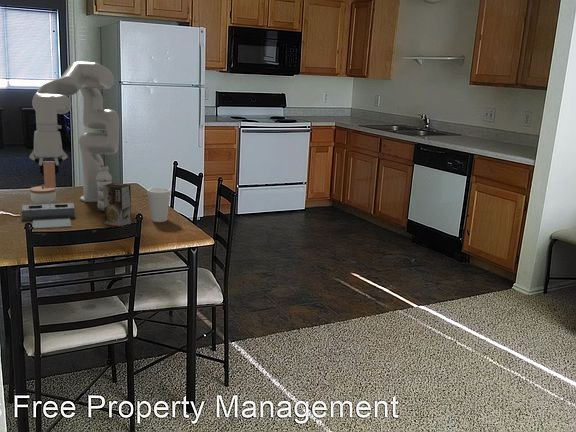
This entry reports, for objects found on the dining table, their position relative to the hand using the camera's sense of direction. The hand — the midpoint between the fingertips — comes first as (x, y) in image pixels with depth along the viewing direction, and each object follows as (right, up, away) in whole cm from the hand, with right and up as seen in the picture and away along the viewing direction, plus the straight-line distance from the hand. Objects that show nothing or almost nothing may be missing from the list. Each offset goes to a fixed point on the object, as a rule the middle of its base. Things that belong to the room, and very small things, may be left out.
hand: (49, 174), depth 224 cm
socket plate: (-7, -16, +15) cm, 23 cm away
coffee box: (+24, -20, +9) cm, 32 cm away
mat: (-1, -19, +4) cm, 20 cm away
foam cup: (+39, -18, +17) cm, 47 cm away
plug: (0, -5, +1) cm, 5 cm away
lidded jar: (-16, -12, +32) cm, 37 cm away
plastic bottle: (+13, -14, +28) cm, 34 cm away
